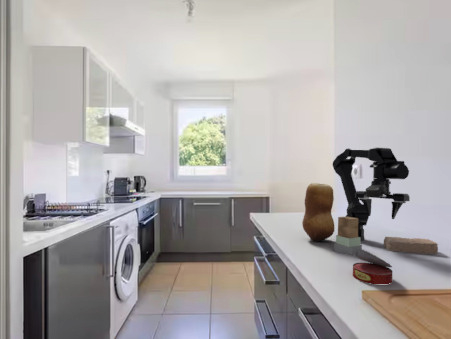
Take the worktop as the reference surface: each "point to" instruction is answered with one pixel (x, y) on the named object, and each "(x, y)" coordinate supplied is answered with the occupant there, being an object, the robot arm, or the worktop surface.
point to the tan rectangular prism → (348, 227)
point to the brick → (411, 245)
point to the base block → (345, 248)
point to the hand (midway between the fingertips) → (380, 217)
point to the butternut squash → (318, 212)
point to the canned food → (371, 268)
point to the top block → (348, 241)
